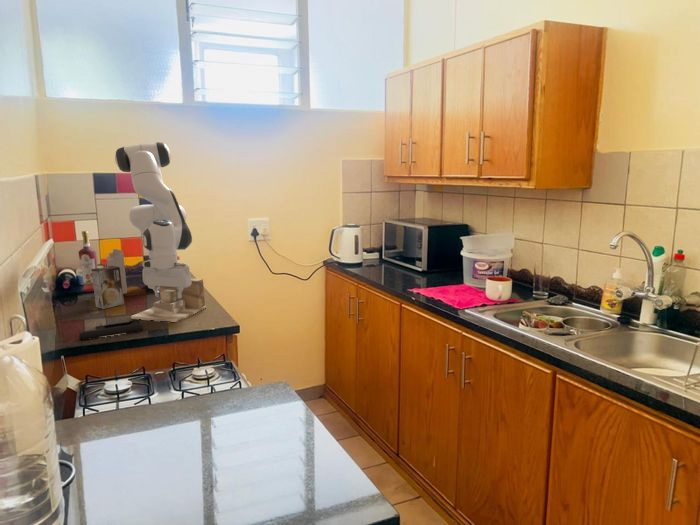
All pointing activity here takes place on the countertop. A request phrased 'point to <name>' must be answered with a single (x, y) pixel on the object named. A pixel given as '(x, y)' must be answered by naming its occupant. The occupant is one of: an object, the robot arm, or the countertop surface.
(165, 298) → the maple peg
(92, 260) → the liquor
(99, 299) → the coffee box
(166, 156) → the robot arm
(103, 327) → the door handle
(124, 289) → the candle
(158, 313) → the wooden stand
